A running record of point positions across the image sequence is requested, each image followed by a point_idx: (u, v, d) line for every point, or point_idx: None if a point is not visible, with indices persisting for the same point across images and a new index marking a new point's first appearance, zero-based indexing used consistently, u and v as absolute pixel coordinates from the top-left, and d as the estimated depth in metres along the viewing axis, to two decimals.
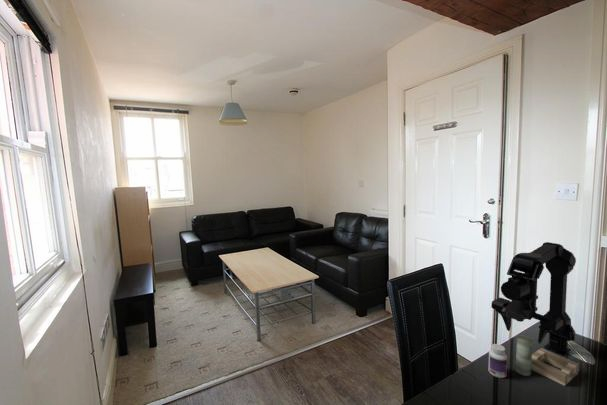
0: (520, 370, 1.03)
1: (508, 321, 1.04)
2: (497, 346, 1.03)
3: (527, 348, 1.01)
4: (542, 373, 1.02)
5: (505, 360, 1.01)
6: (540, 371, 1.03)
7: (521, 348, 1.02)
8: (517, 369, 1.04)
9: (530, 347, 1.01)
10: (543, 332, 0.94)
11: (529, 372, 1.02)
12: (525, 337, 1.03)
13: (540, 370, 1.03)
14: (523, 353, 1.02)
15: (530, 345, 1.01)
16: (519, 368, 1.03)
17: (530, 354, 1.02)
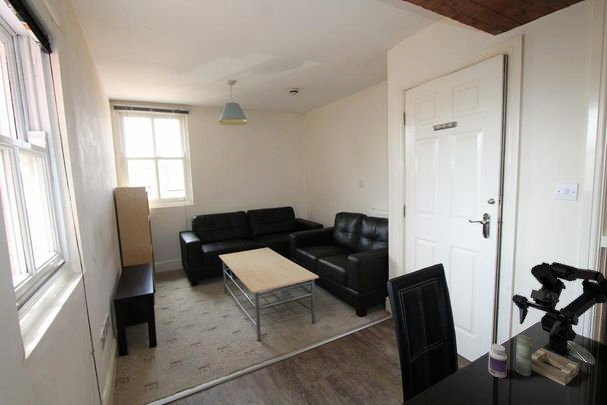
0: (520, 370, 1.03)
1: (523, 315, 1.12)
2: (497, 346, 1.03)
3: (527, 348, 1.01)
4: (542, 373, 1.02)
5: (505, 360, 1.01)
6: (540, 371, 1.03)
7: (521, 348, 1.02)
8: (517, 369, 1.04)
9: (530, 347, 1.01)
10: (559, 322, 1.02)
11: (529, 372, 1.02)
12: (525, 337, 1.03)
13: (540, 370, 1.03)
14: (523, 353, 1.02)
15: (530, 345, 1.01)
16: (519, 368, 1.03)
17: (530, 354, 1.02)
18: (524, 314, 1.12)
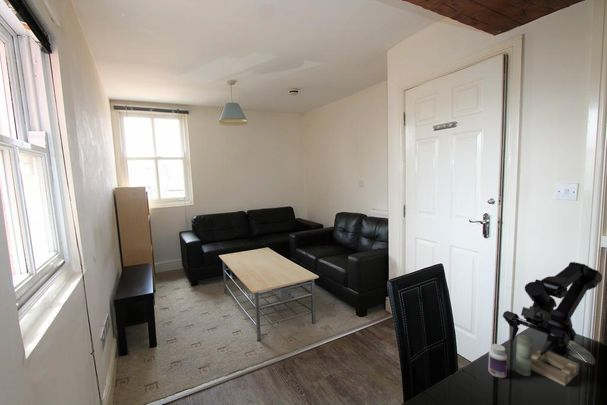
0: (520, 370, 1.03)
1: (514, 333, 1.09)
2: (497, 346, 1.03)
3: (527, 348, 1.01)
4: (542, 373, 1.02)
5: (505, 360, 1.01)
6: (540, 371, 1.03)
7: (522, 348, 1.02)
8: (517, 369, 1.04)
9: (530, 347, 1.01)
10: (549, 342, 1.00)
11: (529, 372, 1.02)
12: (525, 337, 1.03)
13: (540, 370, 1.03)
14: (523, 353, 1.02)
15: (530, 345, 1.01)
16: (519, 368, 1.03)
17: (530, 354, 1.02)
18: (514, 332, 1.09)
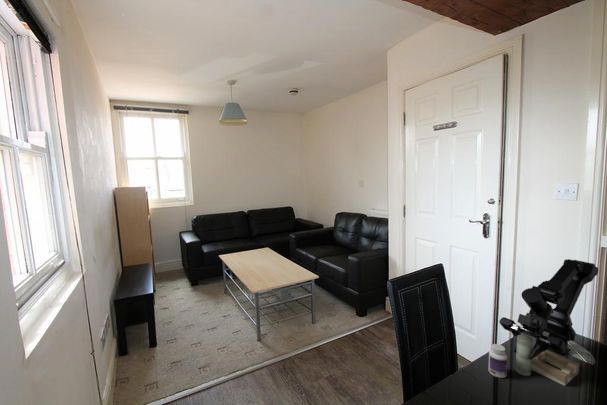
0: (520, 370, 1.03)
1: None
2: (497, 346, 1.03)
3: (527, 348, 1.01)
4: (542, 373, 1.02)
5: (505, 360, 1.01)
6: (540, 371, 1.03)
7: (522, 348, 1.02)
8: (517, 369, 1.04)
9: (530, 347, 1.01)
10: (538, 346, 1.01)
11: (529, 372, 1.02)
12: (525, 337, 1.03)
13: (540, 370, 1.03)
14: (523, 353, 1.02)
15: (530, 345, 1.01)
16: (519, 367, 1.03)
17: None
18: None
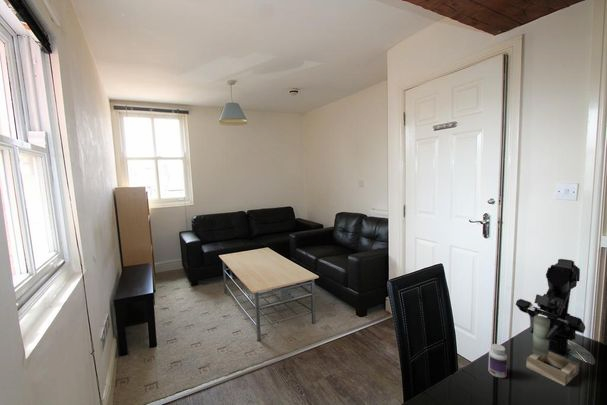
0: (537, 350, 1.03)
1: None
2: (497, 346, 1.03)
3: (545, 328, 1.01)
4: (542, 373, 1.02)
5: (505, 360, 1.01)
6: (540, 371, 1.03)
7: (539, 329, 1.02)
8: (534, 349, 1.04)
9: (547, 327, 1.01)
10: (556, 326, 1.00)
11: (546, 352, 1.02)
12: (542, 318, 1.03)
13: (540, 370, 1.03)
14: (540, 333, 1.02)
15: (547, 325, 1.01)
16: (536, 348, 1.03)
17: None
18: None
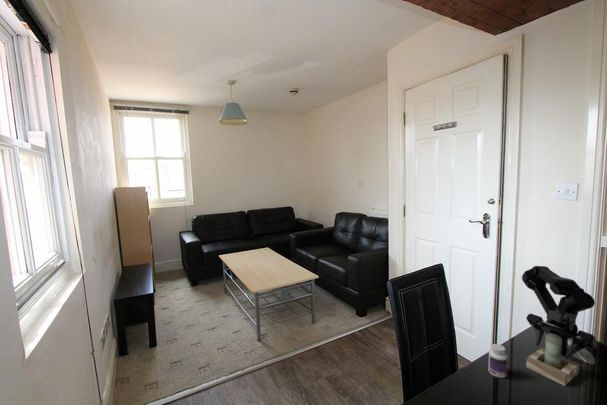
0: None
1: (539, 336, 1.08)
2: (497, 346, 1.03)
3: (557, 346, 1.01)
4: (542, 373, 1.02)
5: (505, 360, 1.01)
6: (540, 371, 1.03)
7: (551, 347, 1.02)
8: None
9: (560, 345, 1.01)
10: (575, 345, 0.99)
11: None
12: (554, 336, 1.04)
13: (540, 370, 1.03)
14: (552, 352, 1.02)
15: (560, 343, 1.01)
16: None
17: (560, 352, 1.02)
18: (540, 335, 1.08)
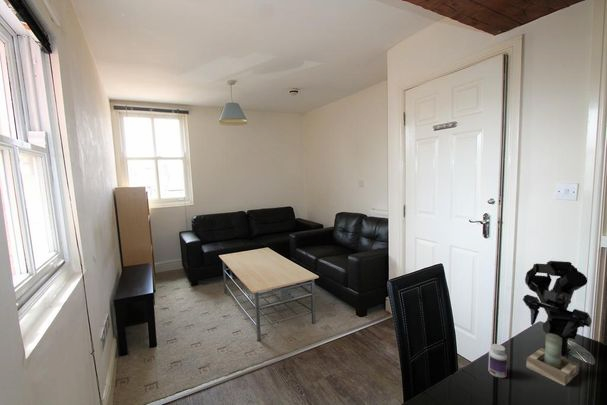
0: None
1: (534, 316, 1.11)
2: (497, 346, 1.03)
3: (557, 346, 1.01)
4: (542, 373, 1.02)
5: (505, 360, 1.01)
6: (540, 371, 1.03)
7: (551, 347, 1.02)
8: None
9: (560, 345, 1.01)
10: (571, 323, 1.01)
11: None
12: (554, 336, 1.04)
13: (540, 370, 1.03)
14: (552, 352, 1.02)
15: (560, 343, 1.01)
16: None
17: (560, 352, 1.02)
18: (535, 315, 1.11)
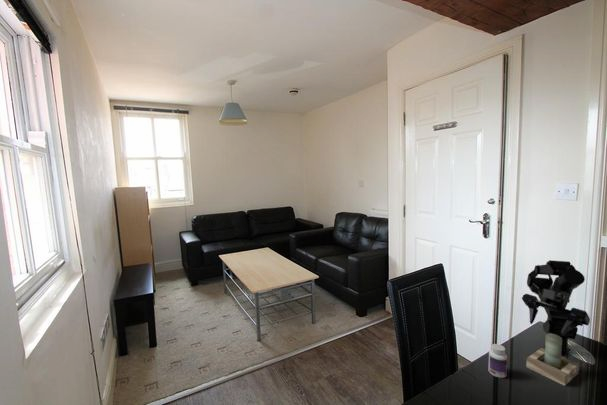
0: None
1: (533, 315, 1.11)
2: (497, 346, 1.03)
3: (557, 346, 1.01)
4: (542, 373, 1.02)
5: (505, 360, 1.01)
6: (540, 371, 1.03)
7: (551, 347, 1.02)
8: None
9: (560, 345, 1.01)
10: (570, 322, 1.02)
11: None
12: (554, 336, 1.04)
13: (540, 370, 1.03)
14: (552, 352, 1.02)
15: (560, 343, 1.01)
16: None
17: (560, 352, 1.02)
18: (534, 313, 1.12)
